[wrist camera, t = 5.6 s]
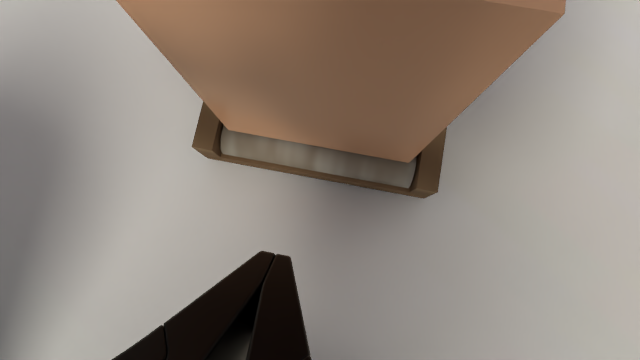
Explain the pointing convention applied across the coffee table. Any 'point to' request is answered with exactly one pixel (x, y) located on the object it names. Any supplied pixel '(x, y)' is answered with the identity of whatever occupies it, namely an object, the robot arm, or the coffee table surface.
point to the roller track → (321, 159)
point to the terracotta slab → (343, 63)
